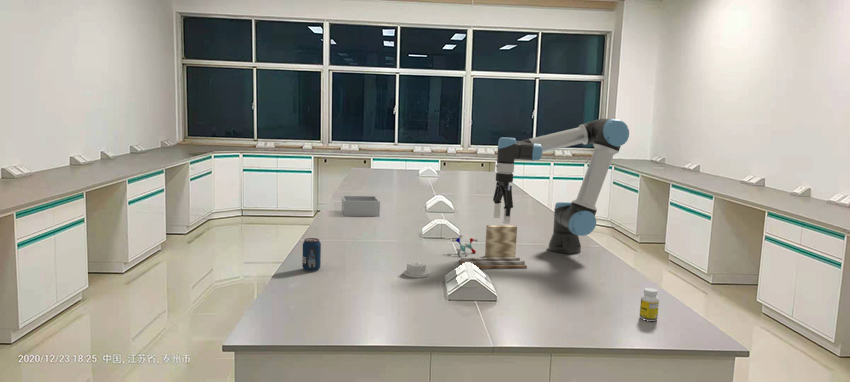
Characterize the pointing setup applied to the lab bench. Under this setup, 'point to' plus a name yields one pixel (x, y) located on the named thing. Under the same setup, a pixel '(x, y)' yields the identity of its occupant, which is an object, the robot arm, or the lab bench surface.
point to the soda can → (311, 254)
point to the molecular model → (465, 245)
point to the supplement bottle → (649, 305)
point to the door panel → (501, 241)
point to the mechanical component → (416, 270)
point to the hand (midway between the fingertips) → (501, 220)
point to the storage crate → (360, 206)
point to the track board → (495, 263)
